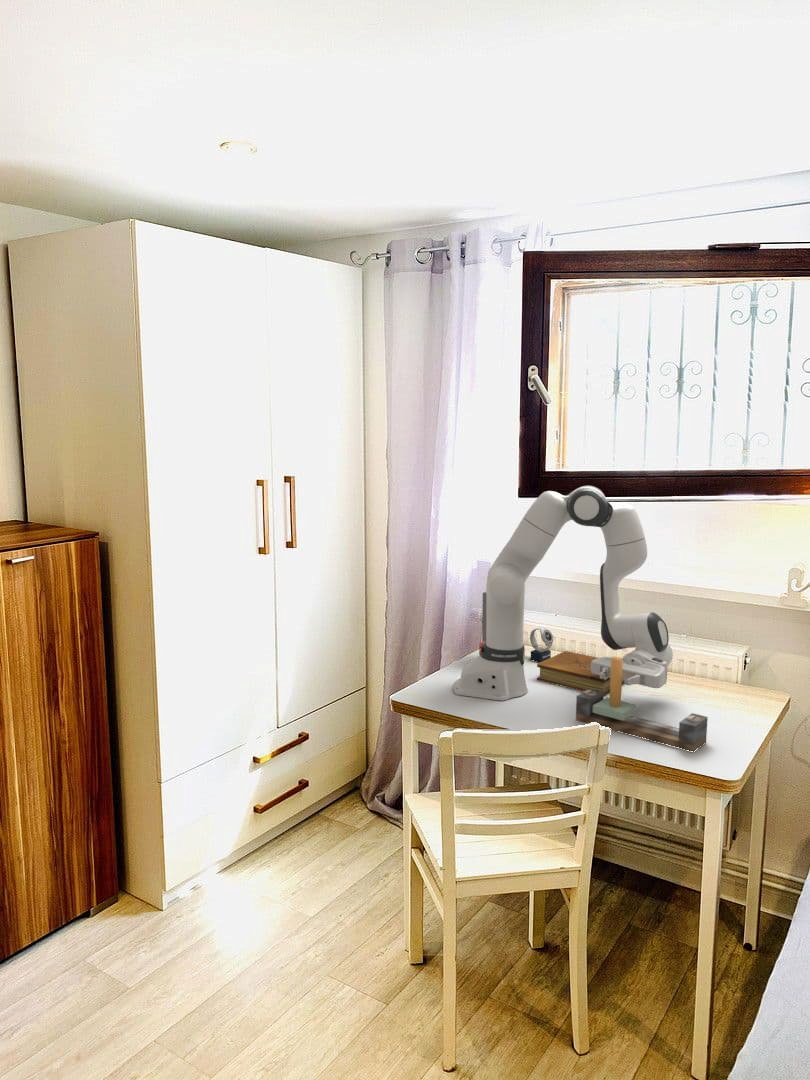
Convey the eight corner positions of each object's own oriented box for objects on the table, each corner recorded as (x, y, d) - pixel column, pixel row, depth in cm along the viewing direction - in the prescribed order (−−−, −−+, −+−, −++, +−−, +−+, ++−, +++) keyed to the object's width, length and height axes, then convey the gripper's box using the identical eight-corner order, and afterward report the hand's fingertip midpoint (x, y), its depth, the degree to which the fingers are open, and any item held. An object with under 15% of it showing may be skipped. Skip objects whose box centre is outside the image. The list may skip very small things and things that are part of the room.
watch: (546, 664, 275) (546, 632, 273) (526, 659, 280) (526, 627, 278) (555, 660, 279) (556, 628, 277) (535, 655, 284) (536, 624, 282)
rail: (575, 720, 227) (576, 694, 225) (590, 711, 233) (590, 686, 231) (693, 752, 205) (695, 724, 204) (706, 742, 211) (707, 715, 210)
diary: (631, 681, 259) (632, 664, 258) (603, 698, 245) (604, 679, 244) (566, 666, 274) (566, 649, 273) (536, 681, 260) (537, 663, 259)
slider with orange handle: (592, 712, 223) (594, 658, 220) (606, 704, 229) (608, 652, 226) (623, 720, 217) (625, 665, 214) (637, 712, 223) (639, 658, 220)
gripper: (604, 648, 237) (580, 660, 227) (672, 663, 224) (650, 676, 214) (603, 669, 238) (579, 682, 228) (671, 685, 225) (649, 699, 215)
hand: (614, 679), depth 221 cm, fingers open, 6 cm apart
